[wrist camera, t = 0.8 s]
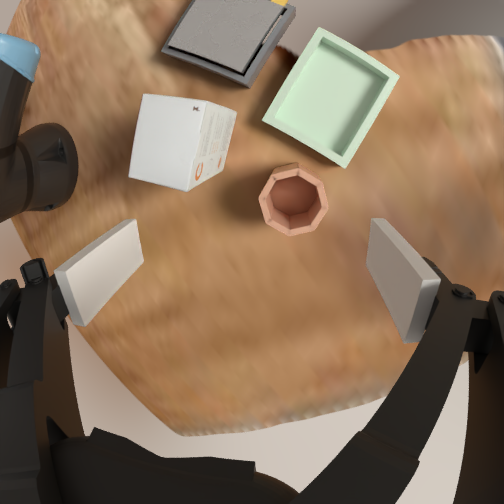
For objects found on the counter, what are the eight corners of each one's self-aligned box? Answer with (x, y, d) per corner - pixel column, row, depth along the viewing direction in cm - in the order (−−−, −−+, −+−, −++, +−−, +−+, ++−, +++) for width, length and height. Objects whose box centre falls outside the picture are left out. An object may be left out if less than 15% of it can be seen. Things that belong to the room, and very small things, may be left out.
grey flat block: (170, 56, 29) (158, 50, 26) (215, -14, 24) (208, -26, 21) (250, 88, 31) (245, 83, 27) (297, 14, 25) (297, 2, 22)
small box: (190, 102, 32) (142, 91, 20) (238, 111, 32) (209, 99, 20) (177, 161, 35) (126, 178, 24) (223, 172, 35) (188, 193, 23)
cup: (255, 201, 36) (249, 214, 31) (282, 154, 33) (281, 158, 28) (302, 228, 37) (304, 245, 31) (331, 182, 34) (338, 192, 29)
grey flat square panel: (170, 46, 26) (167, 44, 26) (210, -14, 22) (208, -18, 21) (242, 73, 27) (241, 72, 26) (284, 9, 23) (283, 6, 22)
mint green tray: (263, 121, 32) (261, 120, 30) (317, 33, 26) (318, 26, 24) (341, 166, 33) (345, 168, 31) (392, 79, 27) (399, 76, 25)
